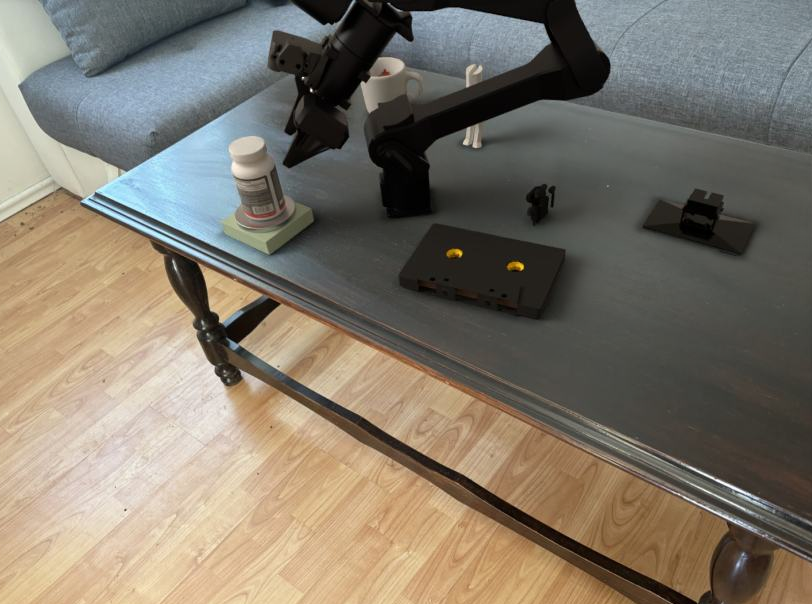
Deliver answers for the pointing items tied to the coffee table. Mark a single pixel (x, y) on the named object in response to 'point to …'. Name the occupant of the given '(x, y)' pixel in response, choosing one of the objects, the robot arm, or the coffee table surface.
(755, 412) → the coffee table surface
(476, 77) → the toy robot
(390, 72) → the cup
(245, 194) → the pill bottle
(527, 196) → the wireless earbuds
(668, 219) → the build plate
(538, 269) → the cassette tape
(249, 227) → the scale
